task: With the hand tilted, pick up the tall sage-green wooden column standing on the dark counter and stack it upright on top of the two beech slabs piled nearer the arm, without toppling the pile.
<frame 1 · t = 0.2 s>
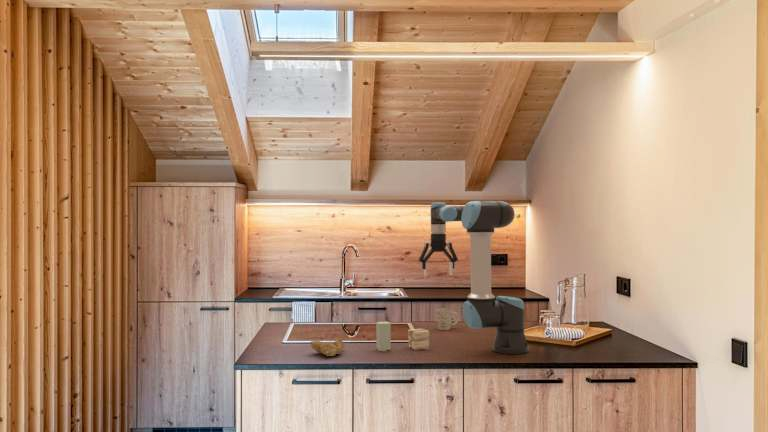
hand: (438, 275, 310), 28 cm above the countertop, tool pointing down, fingers open, 13 cm apart
slab lower: (418, 348, 273), on the countertop
column: (383, 350, 270), on the countertop
mug: (447, 329, 317), on the countertop
slab upper: (418, 339, 273), point 4 cm above the countertop
ginger root: (329, 355, 262), on the countertop
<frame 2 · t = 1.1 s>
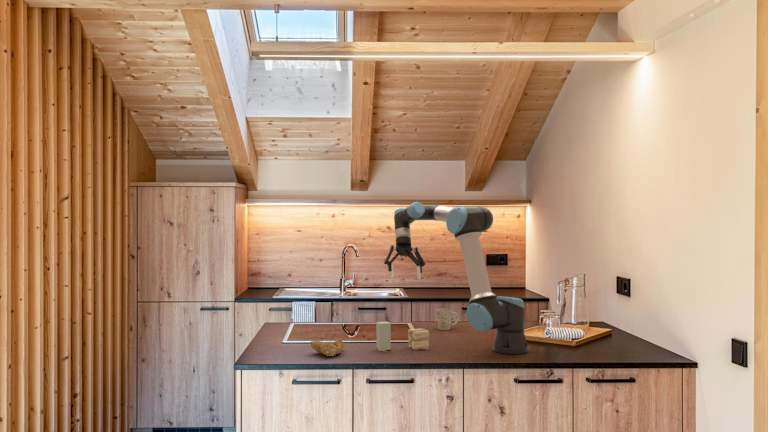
hand: (405, 278, 297), 28 cm above the countertop, tool tilted 30°, fingers open, 13 cm apart
slab lower: (418, 348, 273), on the countertop, touching slab upper
slab upper: (418, 339, 273), point 4 cm above the countertop, touching slab lower
everything else where it was.
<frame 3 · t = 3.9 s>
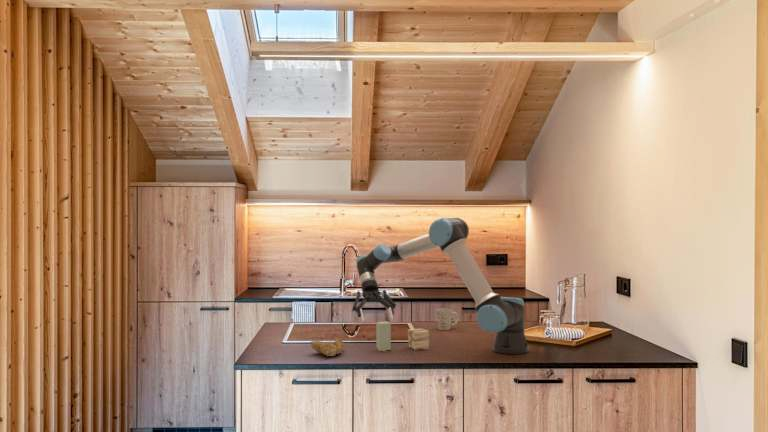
hand: (377, 321, 276), 11 cm above the countertop, tool tilted 45°, fingers open, 13 cm apart
slab lower: (418, 348, 274), on the countertop
slab upper: (418, 339, 274), point 4 cm above the countertop
everything else where it was.
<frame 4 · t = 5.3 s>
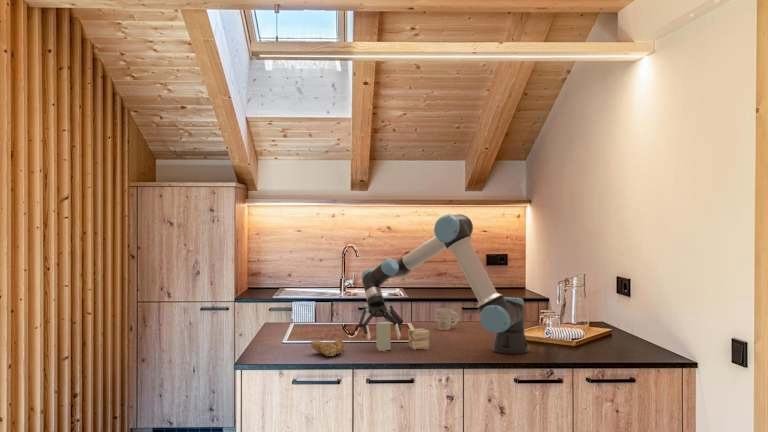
hand: (384, 338, 268), 5 cm above the countertop, tool tilted 45°, fingers open, 13 cm apart
slab lower: (419, 348, 274), on the countertop, touching slab upper
slab upper: (418, 339, 274), point 4 cm above the countertop, touching slab lower
everything else where it was.
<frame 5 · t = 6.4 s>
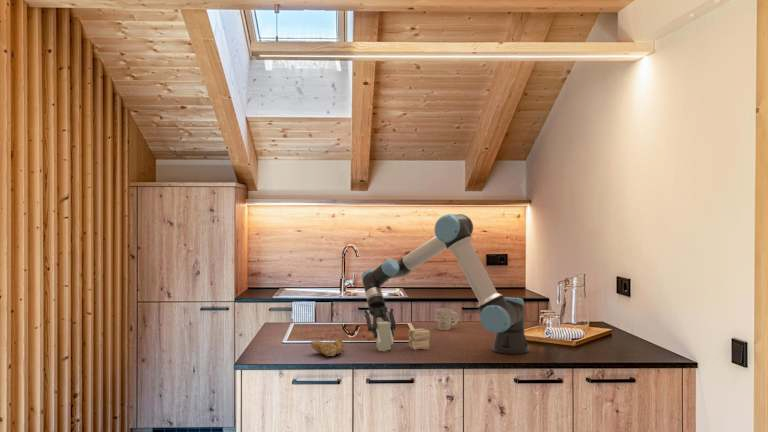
hand: (385, 343, 266), 4 cm above the countertop, tool tilted 45°, fingers closed on column, 5 cm apart
column: (383, 350, 270), on the countertop, touching gripper
everything else where it was.
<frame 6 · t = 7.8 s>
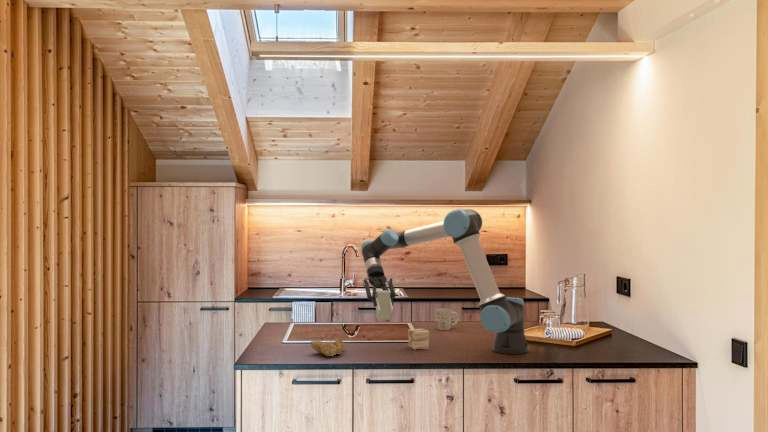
hand: (385, 311, 266), 18 cm above the countertop, tool tilted 45°, fingers closed on column, 5 cm apart
column: (383, 318, 270), point 14 cm above the countertop, touching gripper
everything else where it was.
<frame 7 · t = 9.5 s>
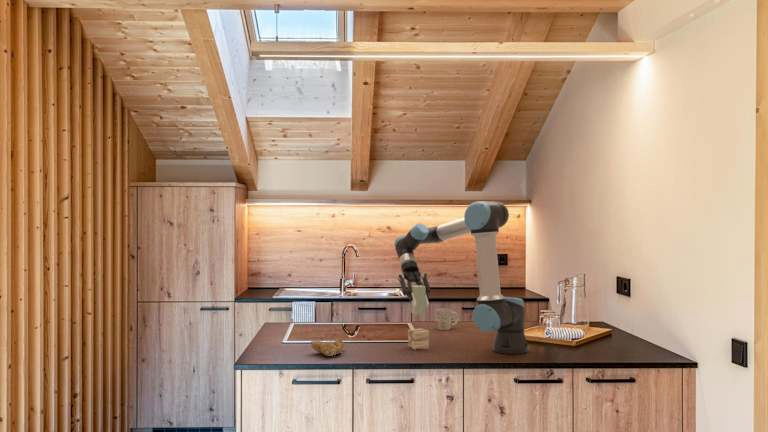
hand: (421, 306, 270), 19 cm above the countertop, tool tilted 45°, fingers closed on column, 5 cm apart
slab lower: (418, 348, 274), on the countertop
column: (418, 313, 273), point 15 cm above the countertop, touching gripper
slab upper: (418, 339, 274), point 4 cm above the countertop
everything else where it was.
when the fingers open (13 cm above the countertop, at t = 11.1 s): column drops 2 cm, resting on slab upper.
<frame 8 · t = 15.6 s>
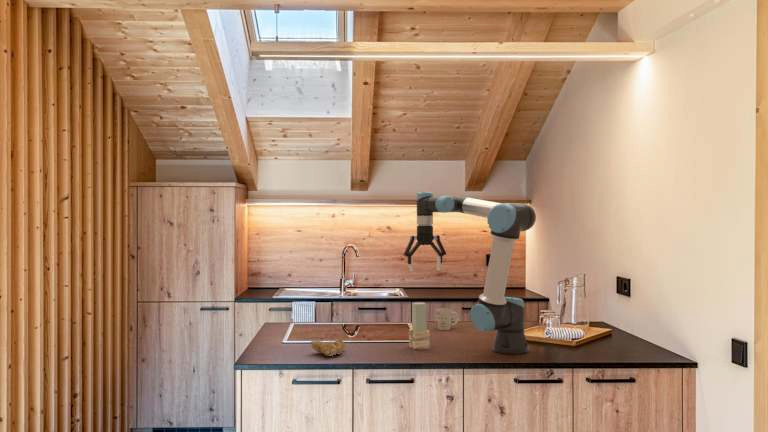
hand: (425, 270, 288), 33 cm above the countertop, tool pointing down, fingers open, 13 cm apart
slab lower: (419, 348, 274), on the countertop, touching slab upper
column: (419, 330, 273), point 8 cm above the countertop, touching slab upper
slab upper: (419, 339, 274), point 4 cm above the countertop, touching column, slab lower
everything else where it was.
at the end: column 0.8 cm off-centre on the slab upper, point 4.0 cm above the slab upper's base; column tilted 1°; slab upper moved 1.0 cm from its start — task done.
